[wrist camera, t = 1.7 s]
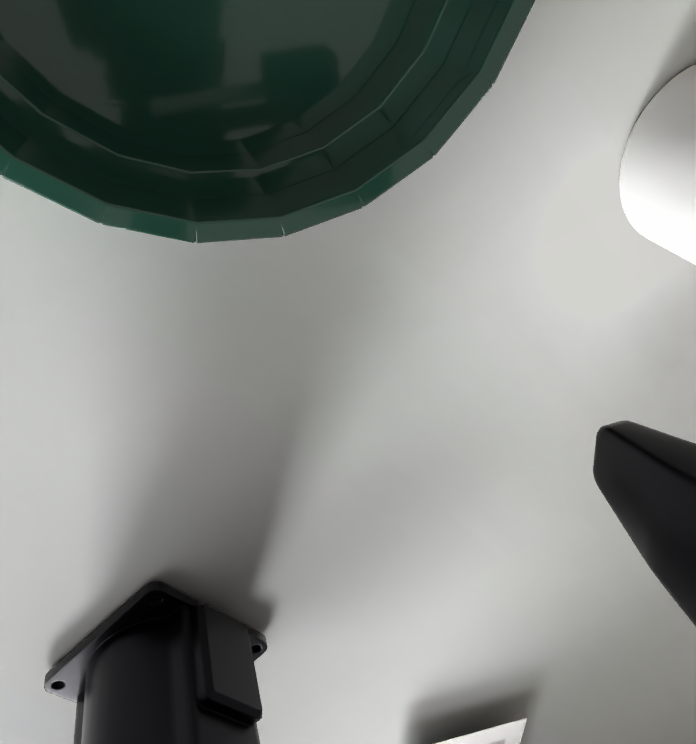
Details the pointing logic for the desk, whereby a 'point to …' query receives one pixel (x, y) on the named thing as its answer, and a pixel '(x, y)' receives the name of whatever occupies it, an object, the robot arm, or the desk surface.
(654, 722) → the desk surface
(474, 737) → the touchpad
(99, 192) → the green shallow bowl
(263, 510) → the desk surface
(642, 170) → the mug
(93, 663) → the robot arm
